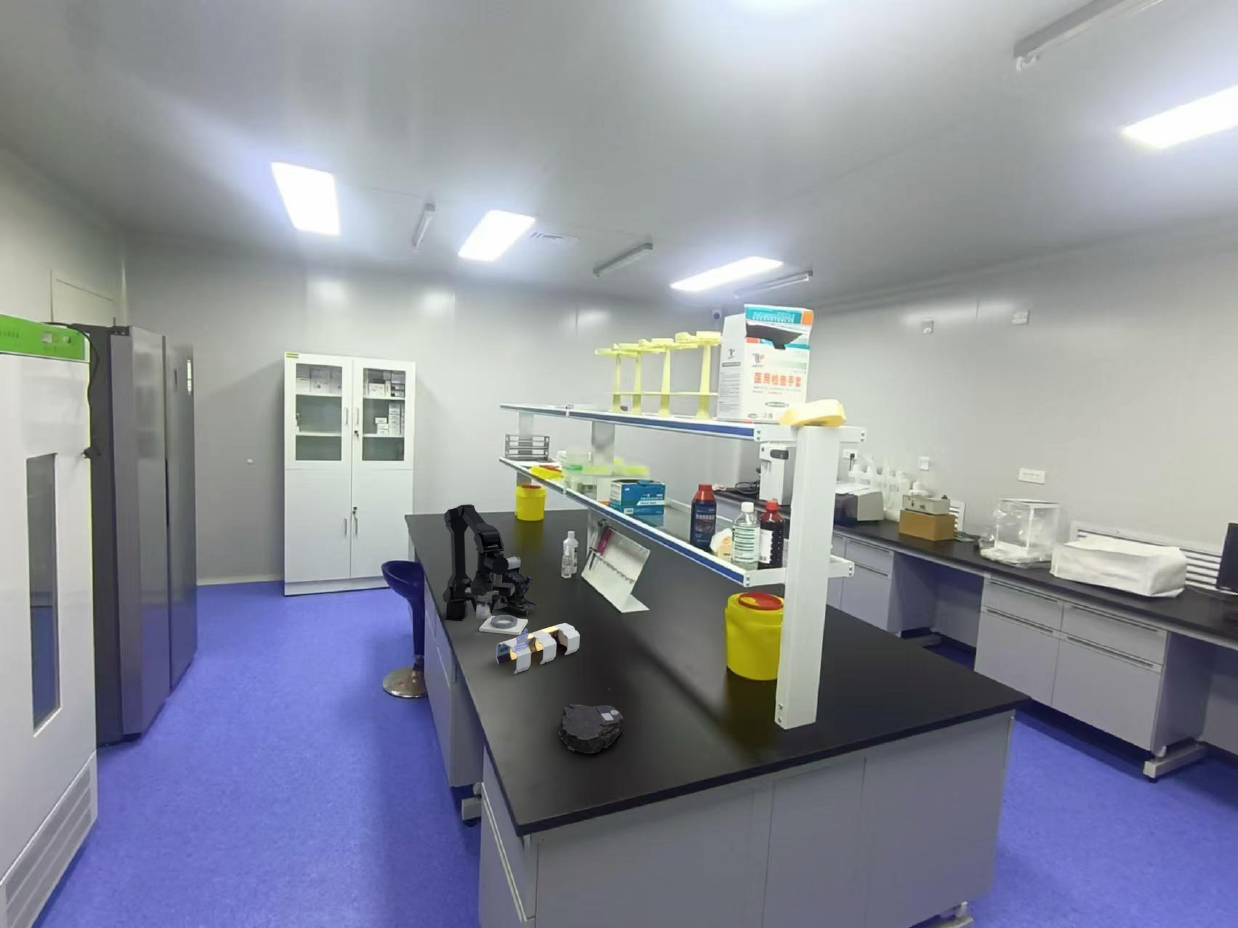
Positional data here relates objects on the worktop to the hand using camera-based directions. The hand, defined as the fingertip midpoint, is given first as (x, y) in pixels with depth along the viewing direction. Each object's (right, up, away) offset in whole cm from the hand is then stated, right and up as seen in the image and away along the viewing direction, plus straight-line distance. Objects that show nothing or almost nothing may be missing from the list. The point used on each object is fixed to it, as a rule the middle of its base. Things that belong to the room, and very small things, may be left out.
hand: (483, 612), depth 184 cm
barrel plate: (+4, -8, +13) cm, 16 cm away
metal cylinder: (0, -1, 0) cm, 1 cm away
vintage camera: (+5, -7, +29) cm, 30 cm away
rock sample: (+37, -17, -49) cm, 64 cm away
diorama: (+19, -12, -9) cm, 25 cm away
